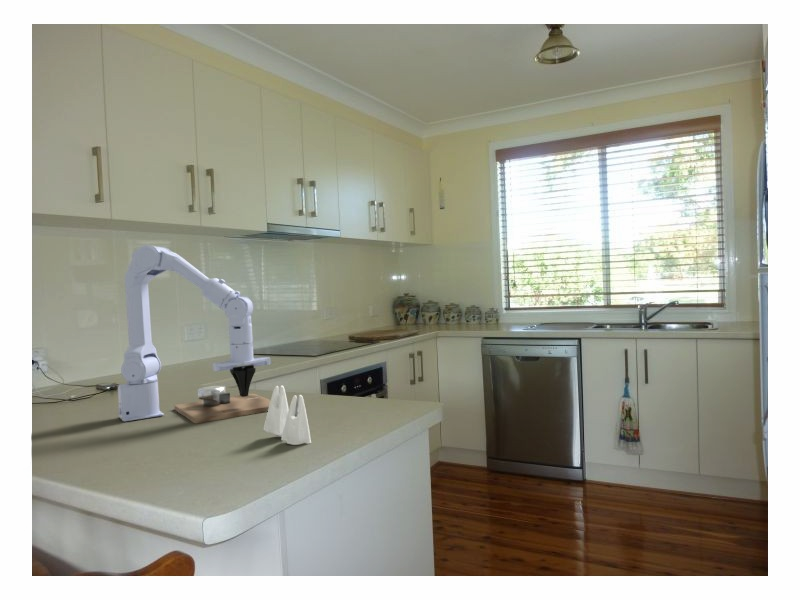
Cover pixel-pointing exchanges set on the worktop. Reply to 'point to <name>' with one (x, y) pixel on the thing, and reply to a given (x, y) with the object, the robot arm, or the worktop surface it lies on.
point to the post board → (223, 408)
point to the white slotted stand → (287, 418)
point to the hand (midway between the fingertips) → (244, 396)
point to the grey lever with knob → (214, 394)
